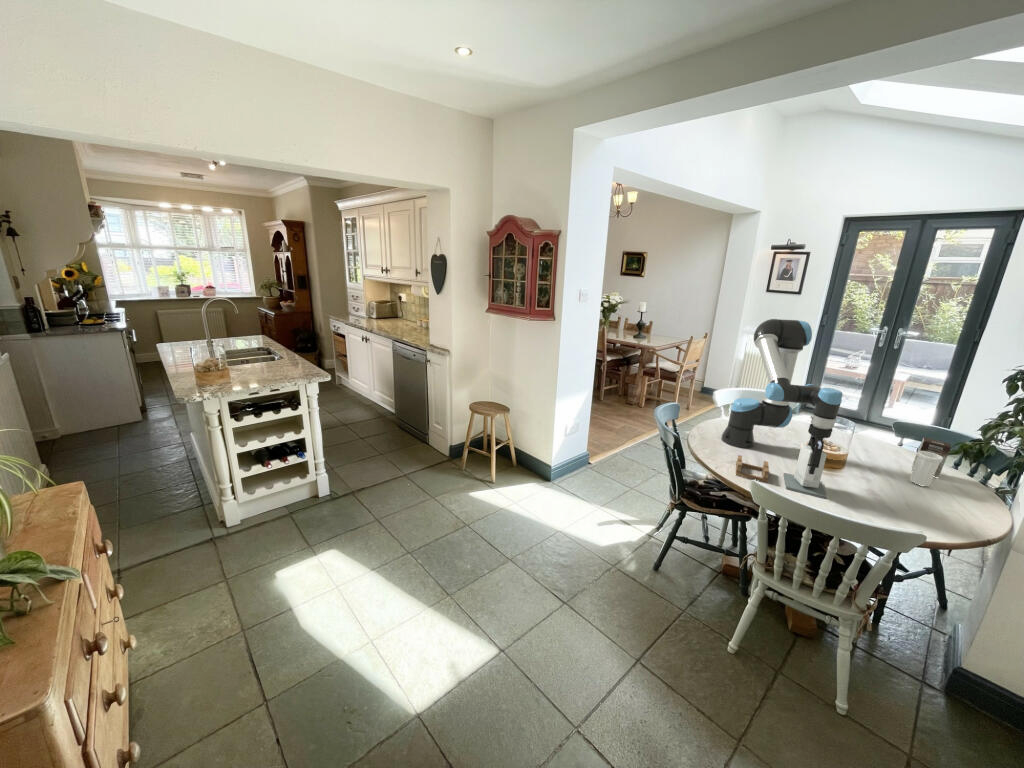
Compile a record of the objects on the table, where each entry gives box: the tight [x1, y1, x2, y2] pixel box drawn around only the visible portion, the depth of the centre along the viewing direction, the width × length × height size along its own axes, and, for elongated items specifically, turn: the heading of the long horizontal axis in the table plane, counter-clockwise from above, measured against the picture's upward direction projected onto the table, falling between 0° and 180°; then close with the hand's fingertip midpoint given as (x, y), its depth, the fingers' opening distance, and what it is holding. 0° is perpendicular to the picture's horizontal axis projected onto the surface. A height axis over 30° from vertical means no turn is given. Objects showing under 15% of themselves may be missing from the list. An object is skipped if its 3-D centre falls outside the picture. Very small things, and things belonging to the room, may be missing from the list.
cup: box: [909, 450, 943, 486], centre depth 181 cm, size 8×8×14 cm
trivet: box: [782, 472, 828, 500], centre depth 176 cm, size 14×14×1 cm
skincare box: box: [793, 444, 828, 488], centre depth 173 cm, size 8×7×16 cm
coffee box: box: [911, 437, 952, 478], centre depth 190 cm, size 9×6×16 cm
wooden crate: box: [735, 454, 770, 484], centre depth 184 cm, size 12×12×5 cm
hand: (807, 474), depth 175 cm, fingers closed on skincare box, 9 cm apart
